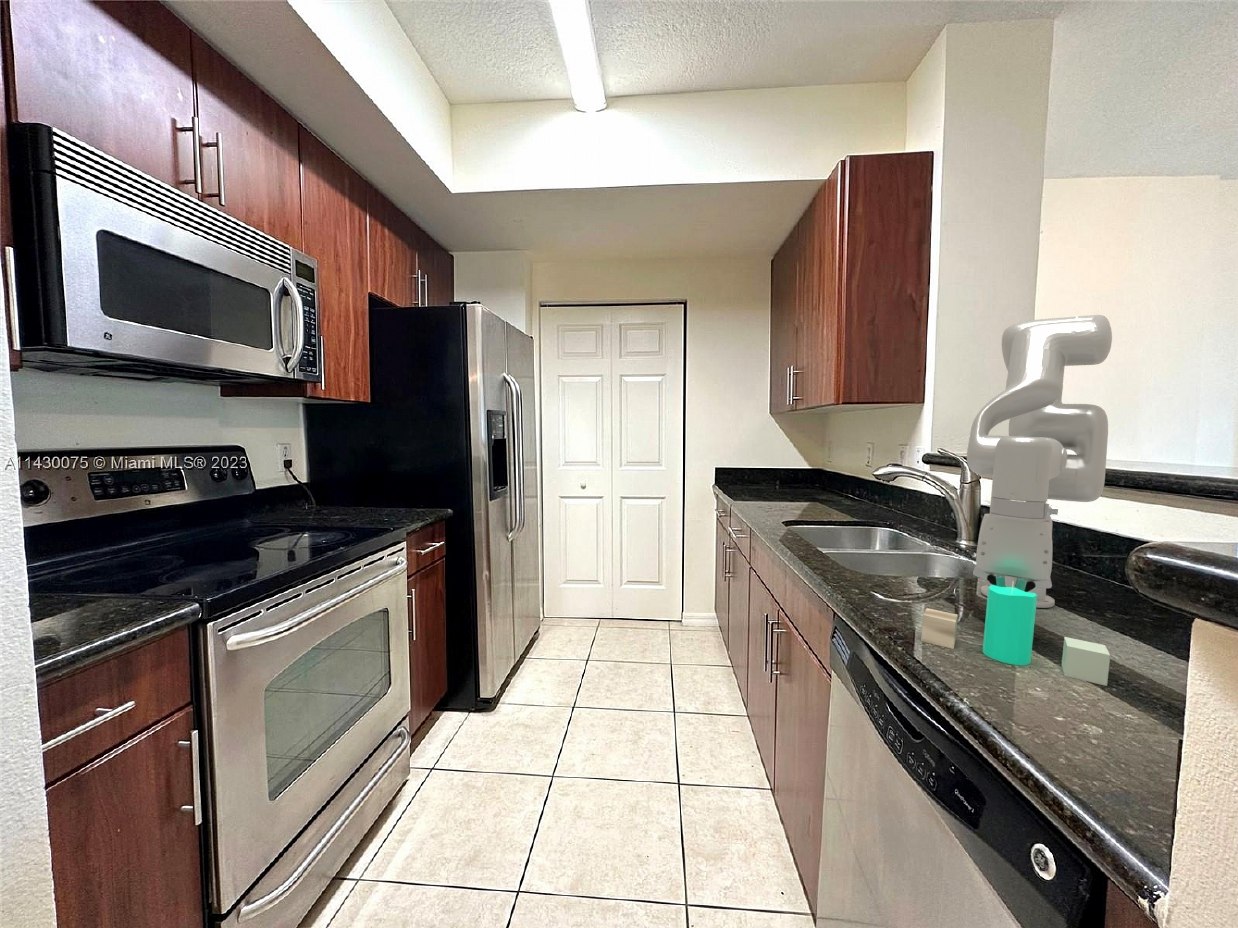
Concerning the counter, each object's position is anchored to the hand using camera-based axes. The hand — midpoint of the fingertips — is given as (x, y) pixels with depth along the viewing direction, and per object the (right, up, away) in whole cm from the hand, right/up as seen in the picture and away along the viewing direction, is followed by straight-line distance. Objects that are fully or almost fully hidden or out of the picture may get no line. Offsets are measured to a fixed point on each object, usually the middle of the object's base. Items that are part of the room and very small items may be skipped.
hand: (1007, 615), depth 88 cm
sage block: (+1, -5, -13) cm, 14 cm away
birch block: (-14, -4, -3) cm, 14 cm away
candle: (-6, -4, -8) cm, 11 cm away
